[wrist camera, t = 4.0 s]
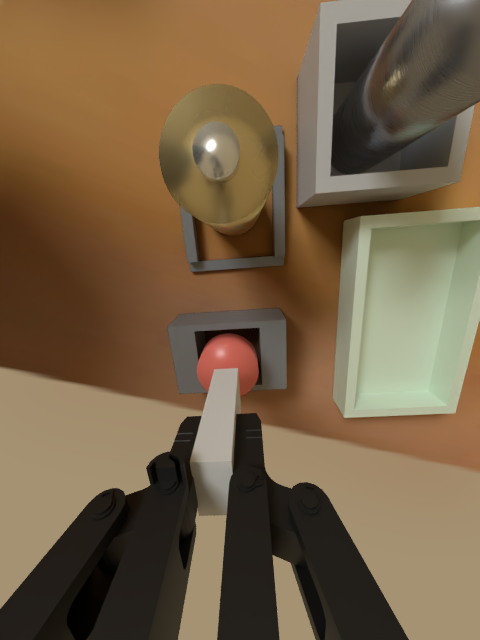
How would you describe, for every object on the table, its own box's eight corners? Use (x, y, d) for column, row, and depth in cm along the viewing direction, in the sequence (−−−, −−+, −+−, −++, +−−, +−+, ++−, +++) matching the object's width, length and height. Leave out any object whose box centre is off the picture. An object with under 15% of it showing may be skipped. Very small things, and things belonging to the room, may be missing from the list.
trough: (332, 398, 23) (344, 417, 20) (343, 220, 18) (360, 216, 15) (430, 393, 23) (455, 413, 20) (469, 211, 18) (508, 204, 15)
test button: (205, 384, 19) (200, 399, 17) (198, 334, 18) (192, 345, 16) (258, 381, 19) (259, 397, 17) (255, 331, 17) (257, 341, 15)
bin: (296, 207, 18) (315, 193, 13) (297, 78, 15) (320, 2, 11) (401, 199, 18) (459, 181, 13) (418, 65, 15) (498, -19, 10)
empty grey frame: (191, 271, 20) (188, 272, 19) (174, 137, 17) (169, 131, 16) (283, 265, 19) (285, 266, 18) (281, 127, 16) (283, 120, 15)
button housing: (189, 377, 23) (180, 400, 19) (179, 314, 21) (167, 326, 17) (280, 372, 22) (286, 395, 19) (279, 307, 20) (286, 319, 17)
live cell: (208, 237, 19) (163, 225, 8) (201, 176, 17) (138, 73, 7) (261, 233, 19) (282, 216, 8) (259, 171, 17) (280, 59, 7)
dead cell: (323, 177, 17) (446, 69, 6) (326, 102, 15) (489, -186, 5) (384, 172, 16) (612, 53, 6) (393, 96, 15) (704, -217, 5)
